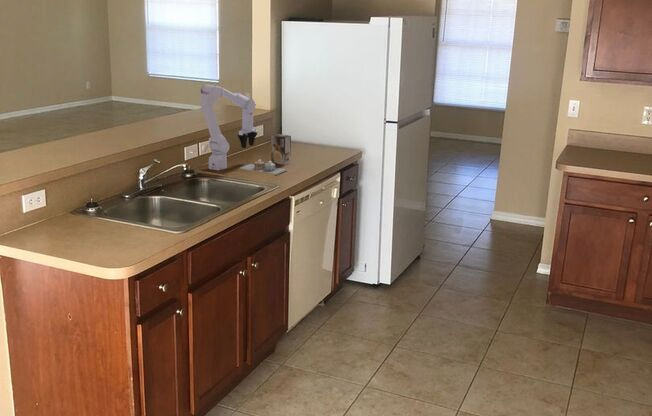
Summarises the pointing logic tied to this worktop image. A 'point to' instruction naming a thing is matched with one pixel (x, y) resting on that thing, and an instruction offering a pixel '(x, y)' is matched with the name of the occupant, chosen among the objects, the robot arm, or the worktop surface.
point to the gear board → (268, 168)
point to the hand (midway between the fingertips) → (247, 146)
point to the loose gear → (259, 165)
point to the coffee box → (281, 149)
